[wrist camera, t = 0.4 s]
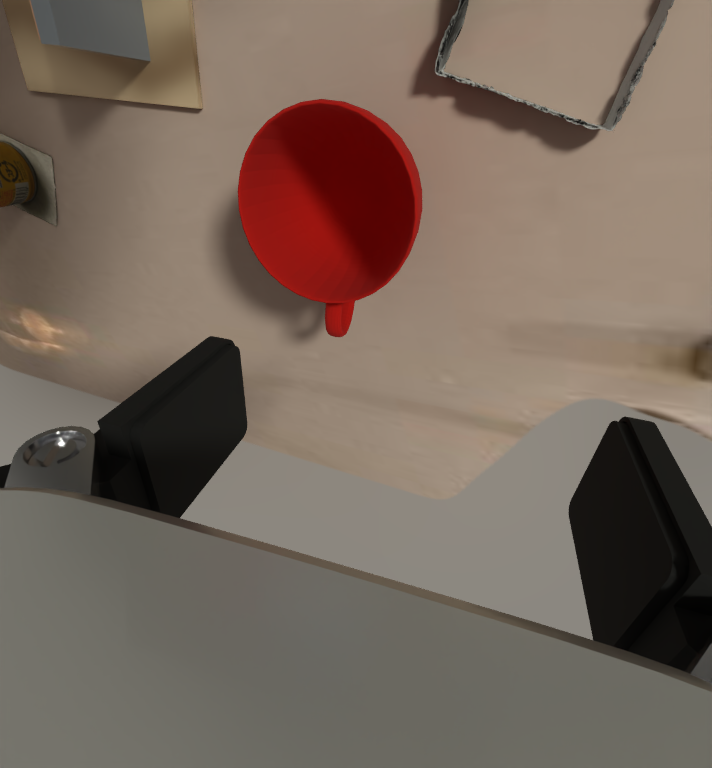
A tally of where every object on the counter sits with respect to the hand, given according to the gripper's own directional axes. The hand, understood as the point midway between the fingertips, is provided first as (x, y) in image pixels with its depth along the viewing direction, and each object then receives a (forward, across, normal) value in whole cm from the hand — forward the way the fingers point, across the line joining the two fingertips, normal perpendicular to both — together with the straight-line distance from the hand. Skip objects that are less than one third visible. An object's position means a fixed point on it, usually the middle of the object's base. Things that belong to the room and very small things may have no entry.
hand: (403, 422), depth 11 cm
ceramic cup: (+30, +9, +1) cm, 32 cm away
